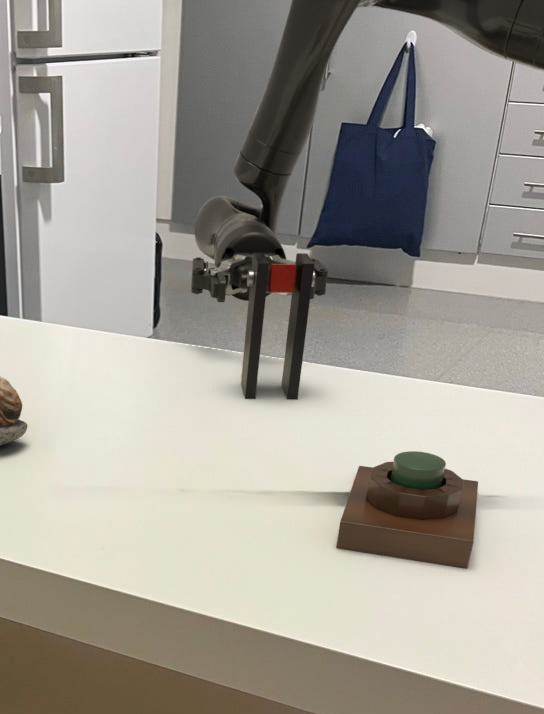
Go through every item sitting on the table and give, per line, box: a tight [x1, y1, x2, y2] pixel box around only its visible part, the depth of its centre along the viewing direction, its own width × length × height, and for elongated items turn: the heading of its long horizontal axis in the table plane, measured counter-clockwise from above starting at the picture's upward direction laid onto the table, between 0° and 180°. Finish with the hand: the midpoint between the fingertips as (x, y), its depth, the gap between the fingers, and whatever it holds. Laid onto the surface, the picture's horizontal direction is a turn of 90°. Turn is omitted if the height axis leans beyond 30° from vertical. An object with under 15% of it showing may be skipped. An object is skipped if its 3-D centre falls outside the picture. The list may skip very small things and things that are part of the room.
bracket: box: [240, 252, 315, 401], centre depth 96 cm, size 10×8×14 cm
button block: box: [335, 461, 479, 570], centre depth 75 cm, size 11×9×4 cm
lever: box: [240, 264, 296, 294], centre depth 98 cm, size 13×5×2 cm, turn 177°
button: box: [390, 450, 447, 490], centre depth 74 cm, size 4×4×2 cm
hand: (264, 292), depth 103 cm, fingers open, 8 cm apart
